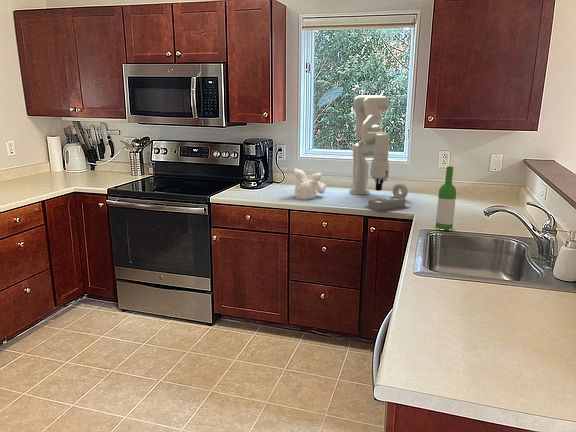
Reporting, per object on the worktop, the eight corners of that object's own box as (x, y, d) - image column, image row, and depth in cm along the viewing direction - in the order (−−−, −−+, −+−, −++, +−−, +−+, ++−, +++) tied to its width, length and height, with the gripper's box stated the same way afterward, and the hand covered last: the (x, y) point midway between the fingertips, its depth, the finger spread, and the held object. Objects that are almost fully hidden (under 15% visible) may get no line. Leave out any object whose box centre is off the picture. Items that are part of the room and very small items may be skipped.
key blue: (381, 203, 270) (381, 198, 269) (386, 202, 272) (387, 197, 272) (386, 205, 266) (387, 199, 266) (392, 204, 269) (393, 198, 268)
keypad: (364, 207, 270) (364, 199, 269) (391, 202, 281) (391, 195, 280) (381, 212, 259) (382, 204, 258) (408, 208, 270) (409, 200, 268)
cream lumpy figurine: (287, 185, 281) (296, 163, 293) (290, 209, 295) (298, 186, 308) (319, 189, 276) (326, 166, 289) (320, 213, 291) (327, 190, 303)
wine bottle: (433, 226, 234) (439, 165, 227) (450, 227, 234) (456, 165, 226) (436, 231, 227) (443, 167, 219) (453, 232, 226) (460, 168, 218)
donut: (408, 200, 287) (409, 184, 285) (404, 201, 285) (406, 184, 283) (394, 197, 295) (395, 181, 292) (390, 198, 292) (392, 182, 290)
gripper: (366, 155, 264) (364, 188, 269) (385, 159, 251) (383, 193, 257) (376, 154, 267) (374, 186, 273) (396, 158, 255) (393, 192, 260)
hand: (378, 190), depth 265 cm, fingers closed
